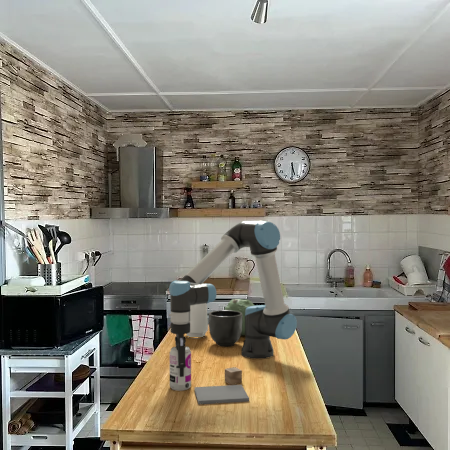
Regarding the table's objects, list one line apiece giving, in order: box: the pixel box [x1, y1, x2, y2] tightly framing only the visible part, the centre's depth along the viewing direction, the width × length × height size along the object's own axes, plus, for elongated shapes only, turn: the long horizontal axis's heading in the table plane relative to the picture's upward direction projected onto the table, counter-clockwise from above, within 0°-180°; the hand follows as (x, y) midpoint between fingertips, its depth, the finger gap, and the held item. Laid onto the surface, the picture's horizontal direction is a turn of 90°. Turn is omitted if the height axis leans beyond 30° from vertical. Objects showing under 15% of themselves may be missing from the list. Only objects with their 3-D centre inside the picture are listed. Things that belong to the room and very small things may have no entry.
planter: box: [208, 309, 243, 348], centre depth 253 cm, size 17×17×16 cm
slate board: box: [194, 384, 250, 405], centre depth 182 cm, size 18×14×1 cm
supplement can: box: [169, 346, 192, 392], centre depth 191 cm, size 8×8×15 cm
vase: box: [186, 303, 209, 338], centre depth 271 cm, size 13×13×28 cm
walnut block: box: [224, 366, 243, 385], centre depth 197 cm, size 5×5×5 cm
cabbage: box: [224, 298, 255, 336], centre depth 274 cm, size 16×19×20 cm
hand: (180, 379), depth 191 cm, fingers open, 11 cm apart
